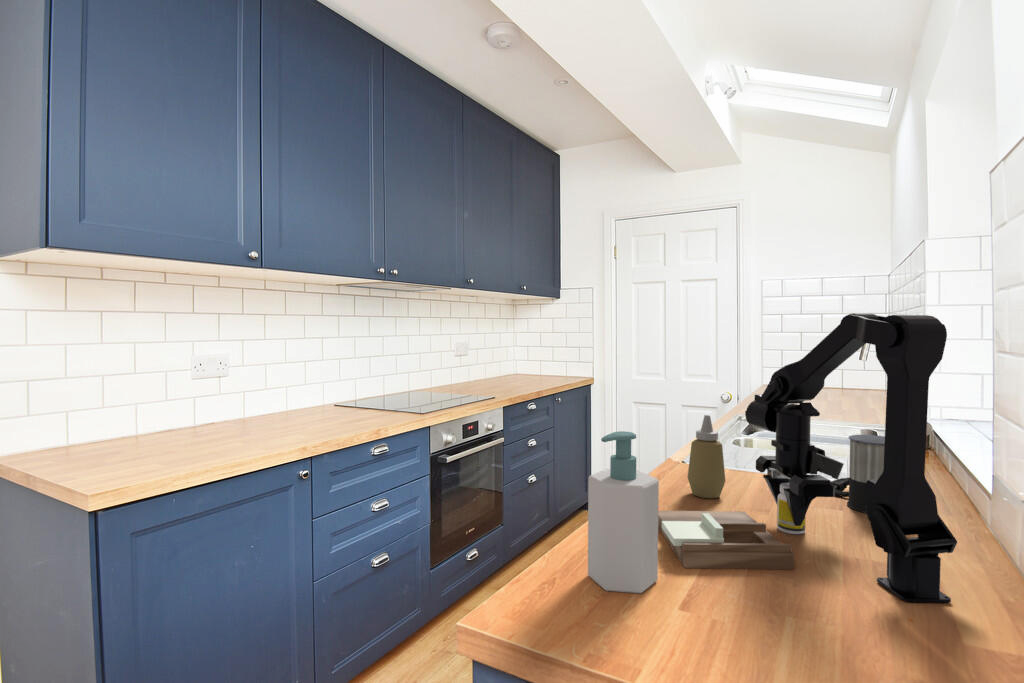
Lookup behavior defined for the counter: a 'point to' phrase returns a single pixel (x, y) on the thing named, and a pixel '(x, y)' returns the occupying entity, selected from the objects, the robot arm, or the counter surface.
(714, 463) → the squeeze bottle
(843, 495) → the milk frother
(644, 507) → the soap bottle
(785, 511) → the supplement bottle
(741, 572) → the counter surface
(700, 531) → the cover
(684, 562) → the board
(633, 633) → the counter surface
